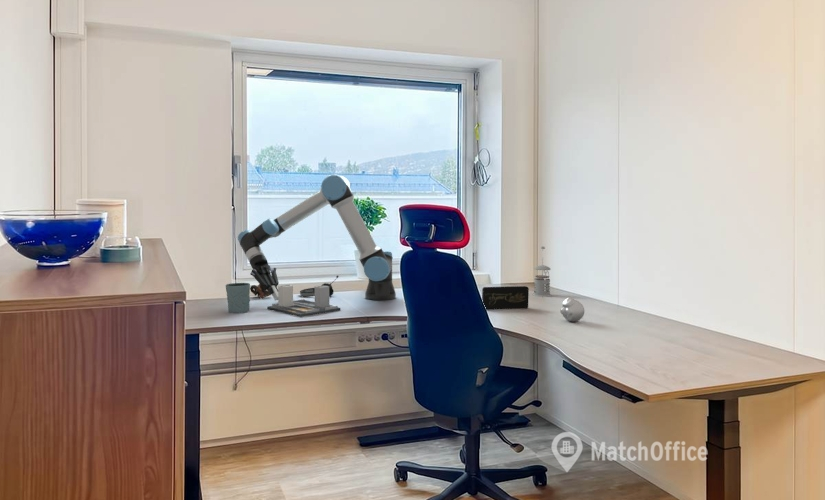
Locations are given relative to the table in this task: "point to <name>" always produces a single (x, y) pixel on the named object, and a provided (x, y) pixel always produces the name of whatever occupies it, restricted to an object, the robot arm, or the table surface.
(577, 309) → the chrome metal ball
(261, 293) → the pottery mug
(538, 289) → the french press
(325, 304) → the block
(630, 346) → the table surface
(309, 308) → the grey board
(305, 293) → the headset
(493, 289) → the nameplate
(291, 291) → the white fader
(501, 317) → the table surface
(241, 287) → the green tapered cup
